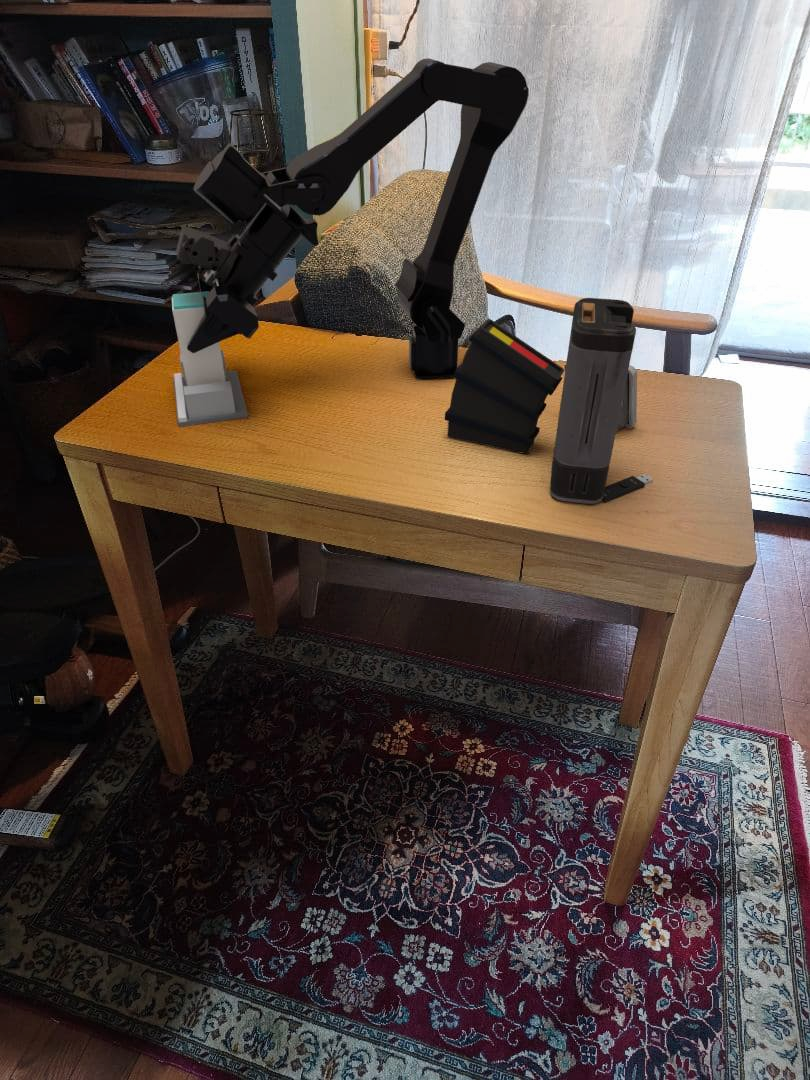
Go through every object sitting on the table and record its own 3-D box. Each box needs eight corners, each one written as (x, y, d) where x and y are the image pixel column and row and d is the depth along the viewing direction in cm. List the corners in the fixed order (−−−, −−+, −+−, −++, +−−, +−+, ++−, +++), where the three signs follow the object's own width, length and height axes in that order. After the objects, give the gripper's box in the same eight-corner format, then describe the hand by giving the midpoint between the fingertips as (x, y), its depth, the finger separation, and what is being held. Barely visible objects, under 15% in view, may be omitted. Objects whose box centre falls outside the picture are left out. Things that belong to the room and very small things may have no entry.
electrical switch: (636, 428, 95) (646, 363, 89) (610, 443, 93) (618, 378, 87) (581, 402, 101) (587, 339, 95) (555, 416, 99) (559, 353, 93)
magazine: (433, 409, 96) (487, 315, 85) (516, 466, 95) (581, 378, 85) (422, 421, 93) (476, 326, 83) (507, 480, 93) (573, 392, 82)
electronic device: (603, 507, 81) (638, 333, 69) (548, 501, 82) (573, 328, 70) (602, 464, 88) (633, 299, 76) (552, 458, 89) (575, 295, 77)
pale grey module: (225, 384, 104) (210, 290, 96) (228, 400, 100) (212, 303, 92) (189, 389, 103) (171, 294, 95) (191, 405, 99) (171, 307, 91)
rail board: (236, 374, 108) (232, 347, 106) (248, 417, 97) (243, 389, 95) (174, 381, 106) (168, 354, 104) (178, 426, 95) (172, 398, 93)
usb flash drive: (641, 477, 86) (643, 470, 86) (654, 485, 85) (655, 478, 84) (591, 497, 83) (593, 489, 82) (604, 505, 82) (605, 498, 81)
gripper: (202, 185, 94) (133, 280, 99) (214, 222, 80) (133, 331, 84) (270, 243, 101) (203, 330, 105) (293, 287, 87) (213, 385, 91)
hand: (188, 342), depth 96 cm, fingers open, 6 cm apart
